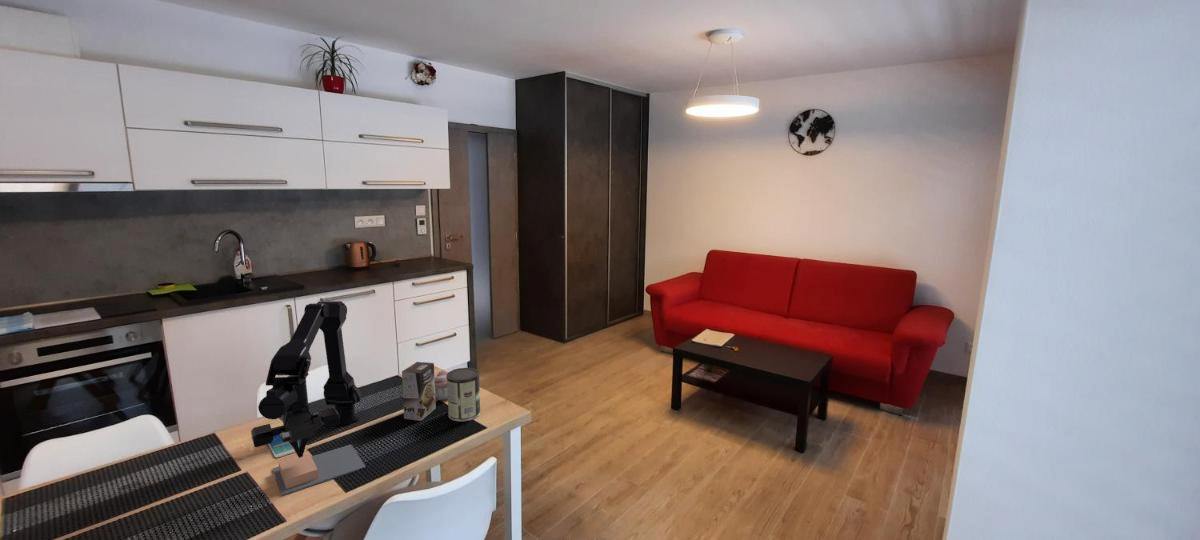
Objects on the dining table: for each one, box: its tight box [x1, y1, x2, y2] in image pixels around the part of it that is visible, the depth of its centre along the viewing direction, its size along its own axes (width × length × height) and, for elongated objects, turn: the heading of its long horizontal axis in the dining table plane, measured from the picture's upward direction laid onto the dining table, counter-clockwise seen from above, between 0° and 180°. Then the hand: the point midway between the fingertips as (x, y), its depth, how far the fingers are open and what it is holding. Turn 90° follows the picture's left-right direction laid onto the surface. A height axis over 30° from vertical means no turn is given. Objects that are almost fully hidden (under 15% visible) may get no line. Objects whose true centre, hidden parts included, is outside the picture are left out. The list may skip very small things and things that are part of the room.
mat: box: [272, 444, 367, 497], centre depth 130 cm, size 14×19×1 cm
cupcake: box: [434, 369, 449, 401], centre depth 173 cm, size 9×9×10 cm
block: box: [278, 452, 318, 489], centre depth 127 cm, size 10×2×7 cm
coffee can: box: [446, 367, 481, 423], centre depth 160 cm, size 10×10×14 cm
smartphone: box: [267, 434, 299, 459], centre depth 142 cm, size 8×1×15 cm
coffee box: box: [401, 361, 437, 422], centre depth 159 cm, size 9×6×16 cm
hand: (300, 456), depth 127 cm, fingers closed
